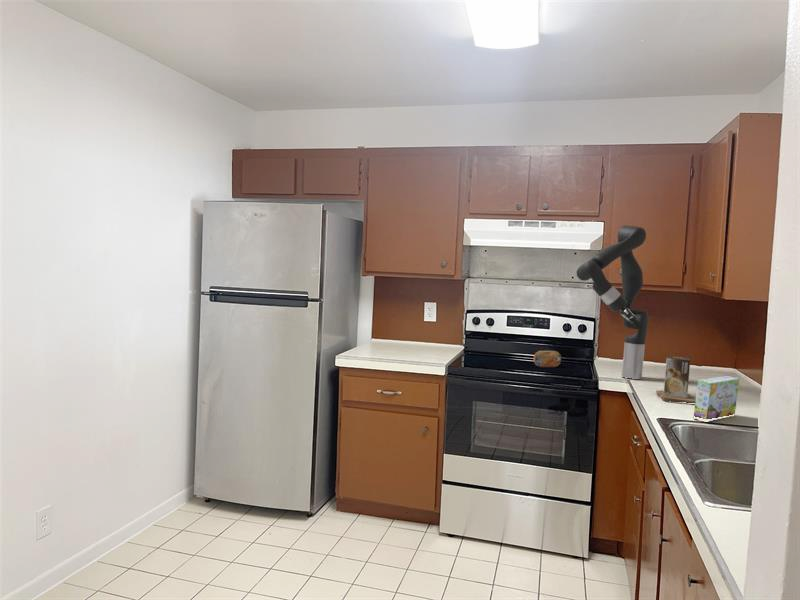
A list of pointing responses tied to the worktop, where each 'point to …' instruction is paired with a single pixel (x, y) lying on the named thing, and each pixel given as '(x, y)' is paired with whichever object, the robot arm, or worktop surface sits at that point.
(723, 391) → the snack box
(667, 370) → the coffee box
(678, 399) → the board
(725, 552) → the worktop surface
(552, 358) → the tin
